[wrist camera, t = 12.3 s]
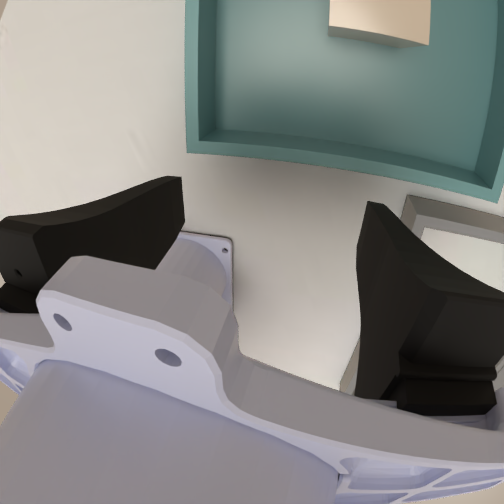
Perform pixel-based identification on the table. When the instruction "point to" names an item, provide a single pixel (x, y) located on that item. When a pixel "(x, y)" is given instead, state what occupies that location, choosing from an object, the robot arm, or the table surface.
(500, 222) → the grey bin
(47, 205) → the table surface
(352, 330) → the table surface
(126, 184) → the table surface
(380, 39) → the brown block
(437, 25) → the teal bin
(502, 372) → the grey bin lid
